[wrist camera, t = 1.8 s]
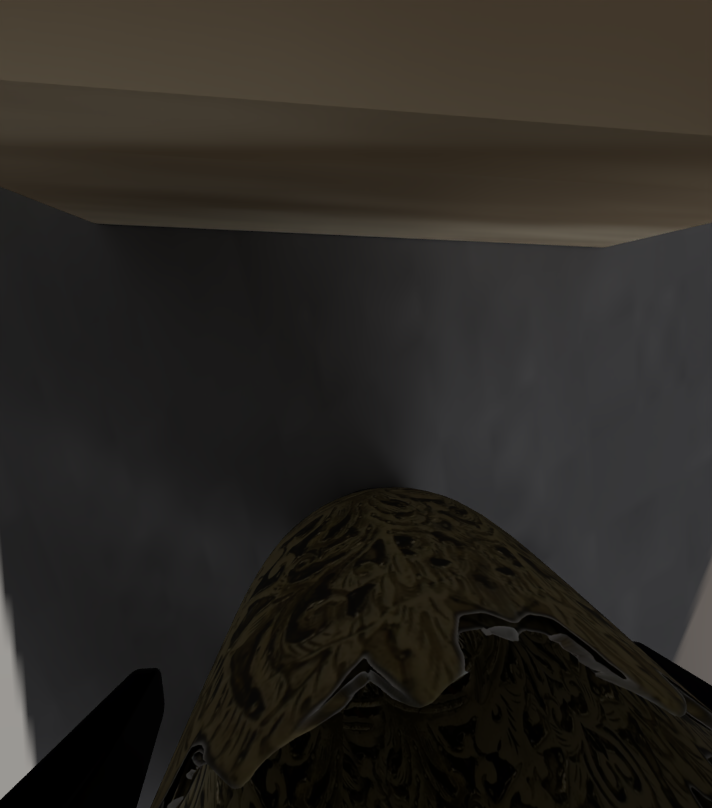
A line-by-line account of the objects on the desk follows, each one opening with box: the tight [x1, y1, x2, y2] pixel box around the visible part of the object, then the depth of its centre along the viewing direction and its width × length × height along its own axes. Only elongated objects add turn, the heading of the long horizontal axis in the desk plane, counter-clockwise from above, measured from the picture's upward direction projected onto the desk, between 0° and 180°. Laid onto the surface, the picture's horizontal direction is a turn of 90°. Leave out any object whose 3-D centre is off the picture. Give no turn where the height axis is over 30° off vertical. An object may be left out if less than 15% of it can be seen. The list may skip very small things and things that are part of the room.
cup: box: [150, 487, 712, 808], centre depth 8 cm, size 8×7×8 cm
